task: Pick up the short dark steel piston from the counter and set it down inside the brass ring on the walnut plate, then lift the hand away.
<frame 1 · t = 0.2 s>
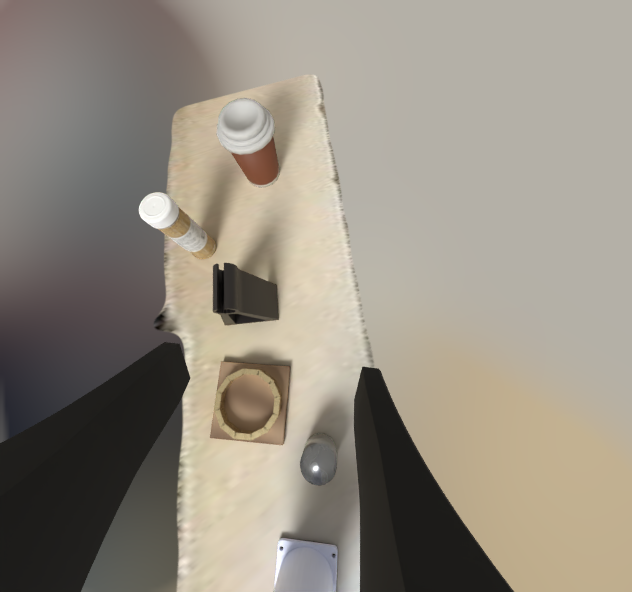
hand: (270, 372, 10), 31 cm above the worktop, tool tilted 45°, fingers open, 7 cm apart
phone stand: (252, 305, 43), on the worktop
steel piston: (320, 450, 37), on the worktop
sprinkles bottle: (205, 249, 47), on the worktop
coffee cup: (263, 173, 50), on the worktop
ring plate: (252, 400, 40), on the worktop
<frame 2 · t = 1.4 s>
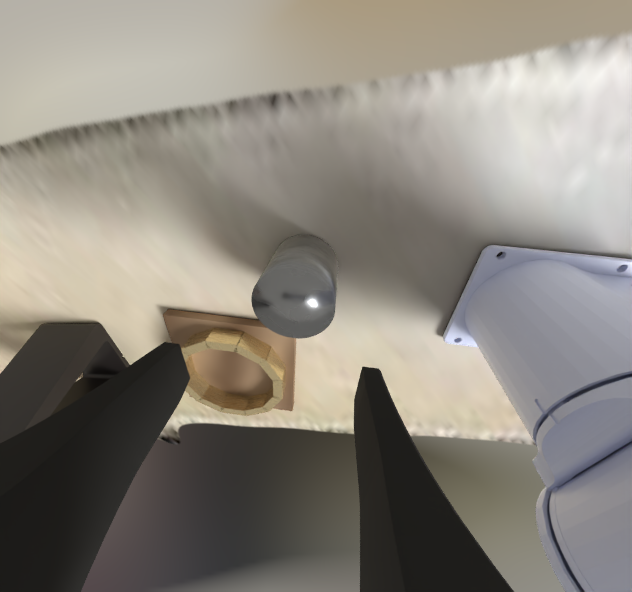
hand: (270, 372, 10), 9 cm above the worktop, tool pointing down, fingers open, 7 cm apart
phone stand: (99, 354, 27), on the worktop
steel piston: (305, 265, 18), on the worktop
ring plate: (238, 361, 24), on the worktop
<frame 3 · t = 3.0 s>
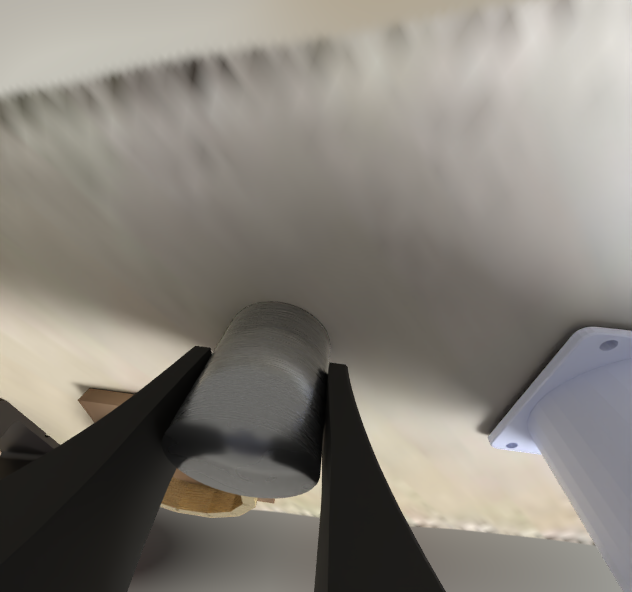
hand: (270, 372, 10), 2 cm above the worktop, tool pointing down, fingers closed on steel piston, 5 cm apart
phone stand: (18, 430, 20), on the worktop
steel piston: (279, 343, 12), on the worktop, touching gripper
ring plate: (197, 447, 18), on the worktop
when the fingers open (4 cm above the worktop, at t = 7.6 s): steel piston drops 1 cm, resting on ring plate.
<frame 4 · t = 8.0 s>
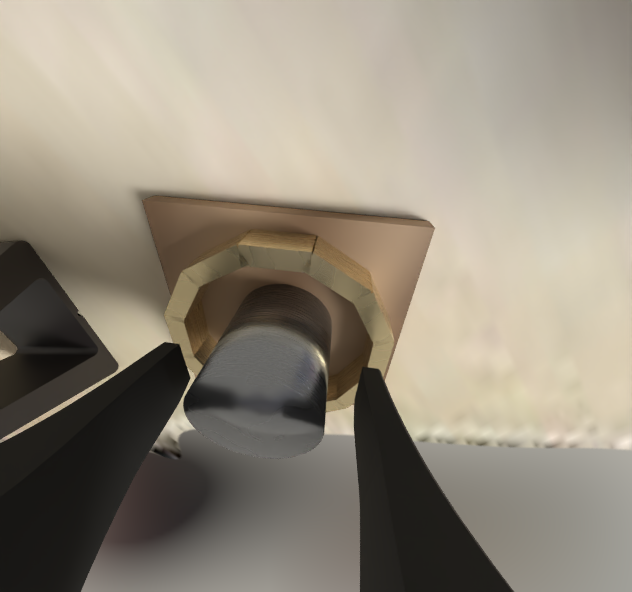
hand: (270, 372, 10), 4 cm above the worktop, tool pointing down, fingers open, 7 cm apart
phone stand: (40, 311, 15), on the worktop
steel piston: (285, 324, 12), point 1 cm above the worktop, touching ring plate
ring plate: (287, 316, 13), on the worktop
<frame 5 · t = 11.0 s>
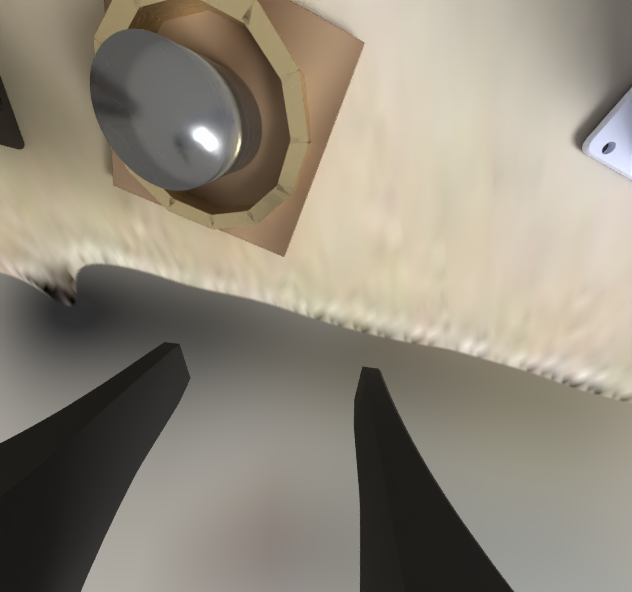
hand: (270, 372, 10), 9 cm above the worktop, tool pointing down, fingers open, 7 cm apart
steel piston: (218, 123, 13), point 1 cm above the worktop, touching ring plate
ring plate: (223, 126, 14), on the worktop
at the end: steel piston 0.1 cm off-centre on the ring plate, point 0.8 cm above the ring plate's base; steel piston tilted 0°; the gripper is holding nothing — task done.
